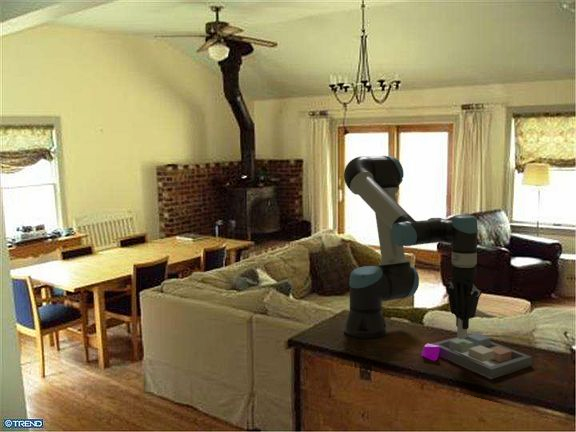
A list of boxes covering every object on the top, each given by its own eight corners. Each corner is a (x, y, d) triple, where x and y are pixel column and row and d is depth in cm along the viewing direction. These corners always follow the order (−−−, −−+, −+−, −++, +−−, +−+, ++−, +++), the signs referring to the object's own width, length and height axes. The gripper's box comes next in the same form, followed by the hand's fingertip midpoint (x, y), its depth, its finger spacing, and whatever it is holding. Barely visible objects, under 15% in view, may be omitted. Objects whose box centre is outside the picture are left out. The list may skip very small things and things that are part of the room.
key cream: (468, 356, 167) (468, 348, 167) (480, 352, 170) (480, 345, 169) (482, 362, 162) (482, 354, 162) (494, 358, 165) (494, 350, 165)
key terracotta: (486, 356, 171) (486, 349, 171) (497, 353, 174) (497, 345, 173) (500, 362, 167) (500, 354, 166) (511, 358, 169) (511, 351, 169)
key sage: (449, 347, 174) (449, 340, 174) (460, 344, 176) (460, 337, 176) (461, 353, 169) (461, 345, 169) (473, 350, 172) (473, 342, 172)
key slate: (466, 343, 178) (466, 335, 177) (477, 340, 180) (477, 333, 180) (479, 348, 173) (479, 340, 173) (490, 345, 176) (490, 337, 176)
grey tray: (431, 352, 178) (431, 343, 177) (469, 341, 187) (470, 333, 186) (491, 379, 157) (491, 369, 157) (531, 366, 166) (531, 356, 165)
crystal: (436, 354, 176) (436, 341, 175) (441, 361, 171) (441, 347, 170) (420, 355, 176) (420, 341, 175) (424, 361, 171) (425, 347, 170)
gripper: (439, 262, 173) (438, 334, 176) (471, 270, 162) (469, 346, 165) (456, 260, 177) (454, 330, 180) (489, 267, 166) (486, 341, 168)
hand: (462, 337), depth 172 cm, fingers closed
